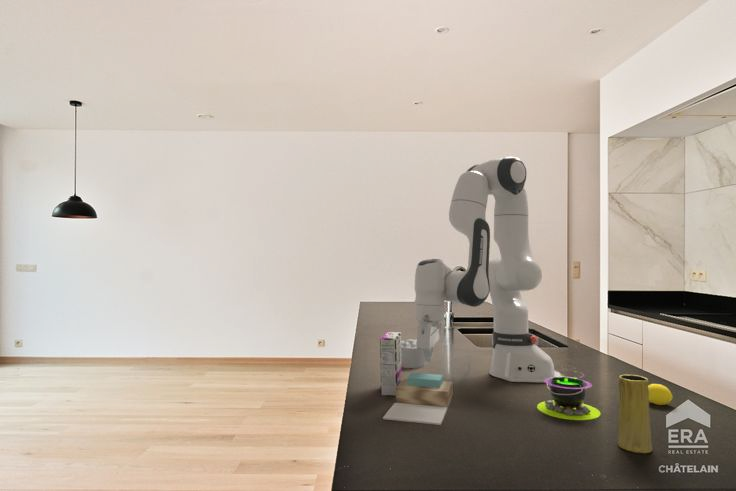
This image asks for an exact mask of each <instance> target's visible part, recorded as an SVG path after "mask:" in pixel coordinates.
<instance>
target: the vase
mask: <svg viewBox="0 0 736 491" xmlns="http://www.w3.org/2000/svg"><path fill="white" fill-rule="evenodd" d="M648 385H649V379H648V378H647V377H645V376H643V375H637V374H621V375H619V376H618V389H619V390H618V391H619V410H618V413H619V414H618V417H619V418H618V440H617V445H618V446H619V448H620V449H623V450H625V451H627V452H630V453H635V454H651V452H652V451H653V446H652V435H651V434H652V433H651V419H650V418H651V417H650V401H649V390H648Z"/></svg>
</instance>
